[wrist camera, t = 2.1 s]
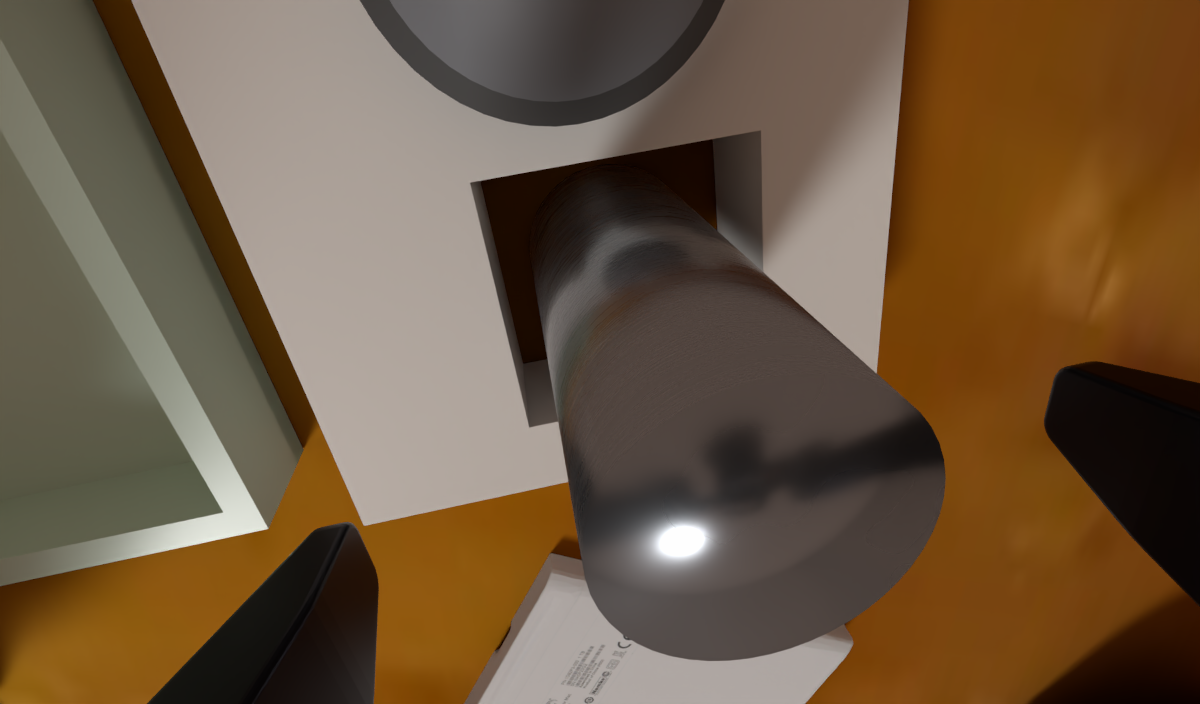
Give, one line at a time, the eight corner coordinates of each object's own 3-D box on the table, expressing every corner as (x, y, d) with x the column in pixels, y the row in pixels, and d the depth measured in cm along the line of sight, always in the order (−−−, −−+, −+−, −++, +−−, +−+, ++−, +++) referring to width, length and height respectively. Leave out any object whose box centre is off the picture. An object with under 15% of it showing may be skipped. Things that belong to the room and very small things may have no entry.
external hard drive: (730, 735, 27) (460, 696, 23) (836, 609, 24) (548, 538, 20) (744, 774, 26) (458, 740, 22) (857, 644, 23) (553, 577, 19)
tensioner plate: (383, 448, 17) (342, 610, 12) (124, -216, 10) (-186, -421, 6) (816, 358, 18) (933, 477, 13) (838, -308, 11) (1092, -556, 6)
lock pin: (545, 333, 16) (609, 693, 7) (513, 180, 14) (550, 422, 6) (693, 303, 16) (923, 617, 8) (682, 150, 15) (970, 335, 6)
